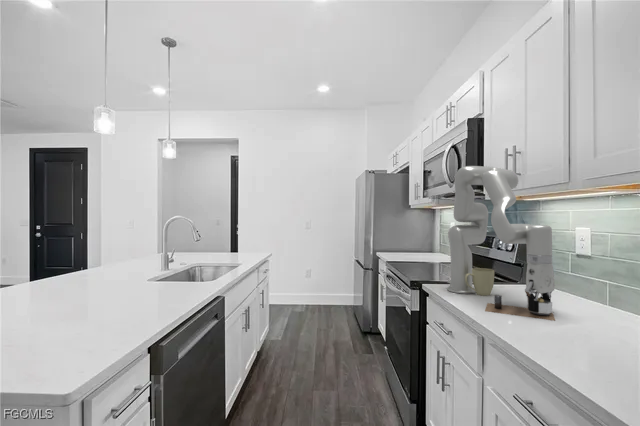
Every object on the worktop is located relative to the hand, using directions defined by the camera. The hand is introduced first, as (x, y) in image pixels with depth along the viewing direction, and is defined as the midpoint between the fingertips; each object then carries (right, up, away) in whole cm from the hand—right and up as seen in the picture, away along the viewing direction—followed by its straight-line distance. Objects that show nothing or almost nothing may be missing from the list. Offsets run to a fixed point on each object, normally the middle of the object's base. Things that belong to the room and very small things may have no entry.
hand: (539, 309), depth 115 cm
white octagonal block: (0, 0, 0) cm, 0 cm away
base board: (-6, -3, +3) cm, 7 cm away
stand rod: (-11, -2, +7) cm, 13 cm away
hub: (0, -1, 0) cm, 1 cm away
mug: (-6, -3, +29) cm, 30 cm away
